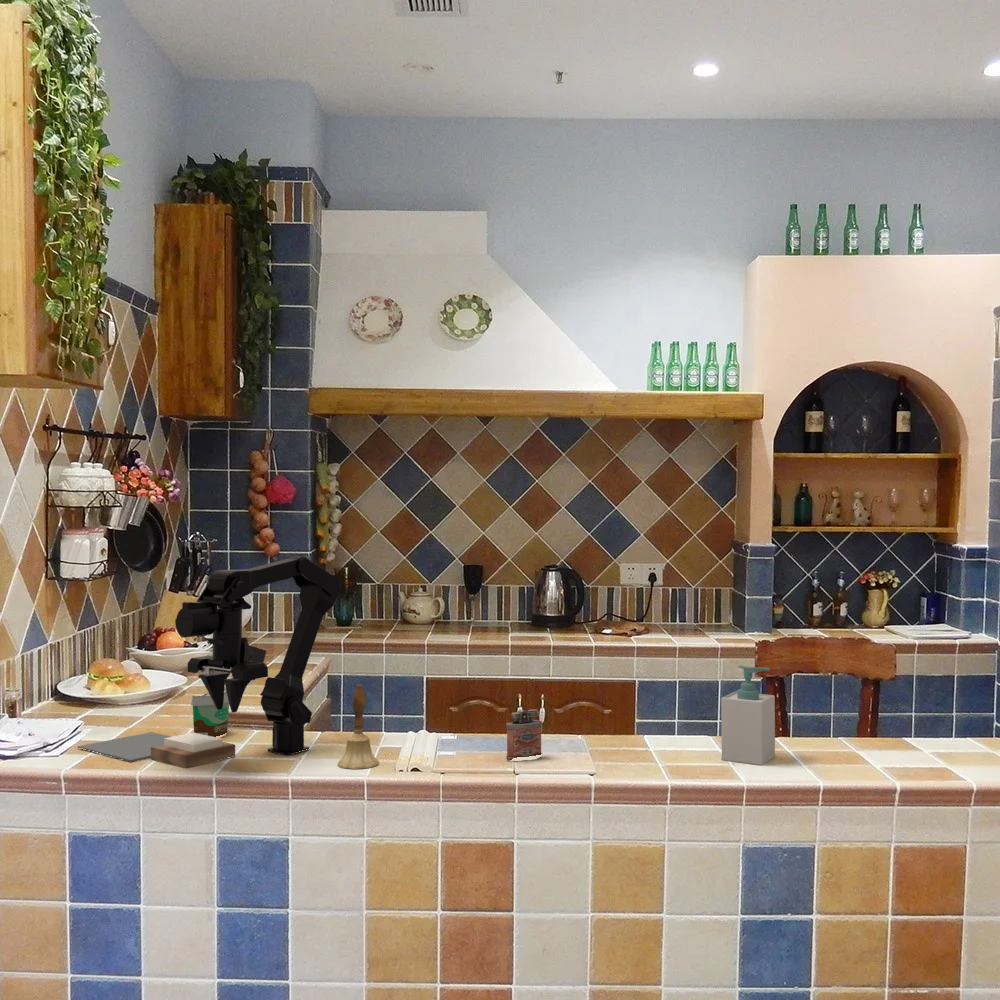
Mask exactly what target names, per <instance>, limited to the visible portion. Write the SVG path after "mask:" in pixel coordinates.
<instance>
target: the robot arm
mask: <svg viewBox="0 0 1000 1000" xmlns="http://www.w3.org/2000/svg"><path fill="white" fill-rule="evenodd" d="M289 579H291V580H292V582H293V583H294V585H295V586H296V587H298V588H299V589H300V591H299V597H298V598H299V602H300V613H299V615H298V618H297V621H296V624H295V627H294V630H293V633H292V635H291V638H290V641H289V644H288V647H287V650H286V653H285V655H284V659H283V661H282V665H281V667H280V669H279V672H278V673H277V674H276V675H275V676H274V677H269V667H268V666H267V664H266V663H265V658H266V655H267V652H268V651H267V650H266V649H262V648H259V647H256V646H252V645H249V643H248V641H249V640H248V638H247V637H246V636H245V637H244V636H243V610H250V609H252V605H251V604H250V603H248V602H247V601H246V599H245V598H244V597H246V596H248V595H250V594H252V593H253V592H254V591H255V590H256V589H257V588H259V587H262V586H266V585H270V584H274V583H277V582H280V581H284V580H289ZM341 589H342V586H341V584H340V581H339V579H338V577H337V576H336V575H334V574H330V573H329V572H328V571H327V570H325V569H324V568H321V567H320V566H318V565H316V564H314V563H313V562H312V561H311V560H310V559H308V558H307V557H306V556H289V557H288V558H286V559H285V558H284V559H282V560H281V559H280V560H278V561H273V562H269V563H266V564H262V565H259V566H254V567H250V568H247V569H245V568H244V569H218V570H215V571H213V572H211V574H210V577H209V578H208V580H207V583H206V585H205V587H204V589H203V591H202V592H201V593H200V595H199V597H198V598H197V600H196V601H195V602H193V601H184V602H182V603H181V605H182V606H181V607H182V608H181V609H180V610H179V611H178V612H177V615H176V618H174V619H175V623H174V624H175V629H176V632H177V634H178V635H179V636H180V637H181V638H184V639H185V638H194V637H201V636H204V637H205V636H210V635H212V637H209V638H207V644H209V645H212V655H204V656H198V657H191V658H190V659H189V661H188V662H187V673H190V674H191V673H193V674H198V673H199V672H200V671H201V674H198V678H199V679H201V680H200V681H202V683H203V685H204V686H205V688H206V690H207V692H208V694H210V696H211V698H212V700H213V702H214V704H215V706H216V708H217V710H221V709H222V708H223V702H224V688H226V691H227V696H228V700H229V709H230V711H231V713H233V714H234V713H237V712H238V710H239V707H240V705H241V702H242V699H243V696H244V693H245V691H246V689H247V686H248V685H249V684H250V683H251V682H252V681H255V680H256V679H257V680H258V679H264V678H266V680H264V681H265V682H264V687H263V690H262V691H261V693H260V694H259V695H260V696H261V699H260V706H261V707H262V710H263V712H264V715H265V717H266V720H267V722H273V723H272V725H273V727H272V736H271V737H272V745H271V746H272V747H269V748H267V752H270V751H271V753H274V752H275V753H276V754H279V753H280V754H279V755H283V754H285V755H284V756H289V755H288V754H290V755H293V754H292V753H294V754H297V753H296V752H298V753H300V752H299V751H302V750H306V749H309V750H310V747H309V746H305V725H306V724H309V723H310V722H311V719H312V715H313V712H312V711H311V709H309V707H308V706H307V705H306V704H305V703H304V702H303V700H304V695H305V687H304V682H303V676H304V673H305V671H306V668H307V665H308V663H309V659H310V655H311V653H312V650H313V648H314V647H313V646H314V644H315V641H316V638H317V635H318V633H319V632H318V631H319V630H320V626H321V623H322V620H323V619H324V618H323V617H324V616H325V615H326V614H327V613H328V612H329V611H330V610H331V609H332V607H334V605H335V603H336V602H337V600H338V598H339V595H340V594H341ZM230 674H231V677H230V678H229V676H230ZM306 751H307V750H306ZM302 752H303V751H302Z"/></svg>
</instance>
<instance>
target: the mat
mask: <svg viewBox="0 0 1000 1000" xmlns="http://www.w3.org/2000/svg"><path fill="white" fill-rule="evenodd" d="M168 737H172V736H171V735H167V734H162V733H157V732H152V731H150V732H145V733H139V734H134V735H130V736H129V735H128V736H124V737H119V738H113V739H109V740H104V741H99V742H93V743H88V744H82V745H77V747H78V748H83V749H86V750H90V751H94V752H98V753H101V754H104V755H108V756H112V757H115V758H119V759H123V760H125V761H124V762H127V761H129V762H128V763H133V762H132V761H135V762H138V761H137V760H139V761H143V760H142V759H144V760H148V759H151V747H154V746H159V745H164V738H168ZM104 755H103V756H104ZM108 756H107V757H108ZM112 757H111V758H112ZM115 758H114V759H115ZM147 758H148V759H147ZM119 759H118V760H119ZM123 760H122V761H123Z"/></svg>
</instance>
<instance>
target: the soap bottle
mask: <svg viewBox="0 0 1000 1000" xmlns="http://www.w3.org/2000/svg"><path fill="white" fill-rule="evenodd" d="M737 667H738V668H740V669H743V677H744V681H743V682H741V683H740V688H738V689H737V690H736V691H733V692H731V693H729V694H727V695H725V696H722V697H721V699H720V700H721V702H720V703H721V704H720V705H721V761H727V762H733V763H742V764H749V765H756V766H764V765H765V764H767V763H768V762H769V761H771V760H773V759H774V758H776V732H775V731H776V729H775V728H776V722H775V721H776V720H775V719H776V718H775V717H776V716H775V715H776V713H775V710H776V709H775V705H776V701H775V699H776V698H775V695H773V694H767V693H766V694H765V693H760V691H759V689H757V688H756V683H754V682H752V678H753V674H754V673H755V674H756V673H760V672H770V670H771V668H769V667H757V666H745V665H738V666H737Z"/></svg>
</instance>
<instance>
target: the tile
mask: <svg viewBox="0 0 1000 1000" xmlns="http://www.w3.org/2000/svg"><path fill="white" fill-rule="evenodd" d="M222 742H223V738H216V737H212V736H207V735H202V734H197V733H194V732H189V733H185V734H179V735H175V736H174V735H173V736H171V737H168V738H164V746H168V747H172V748H177V749H181V750H185V751H190V752H198V751H202V750H207V749H212V748H216V747H221V746H222Z"/></svg>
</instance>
